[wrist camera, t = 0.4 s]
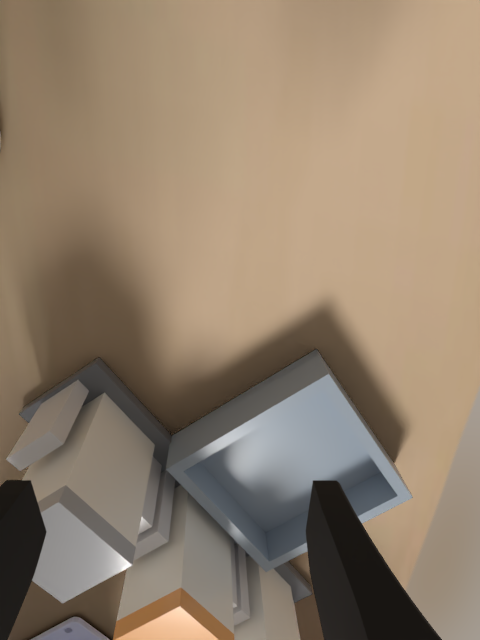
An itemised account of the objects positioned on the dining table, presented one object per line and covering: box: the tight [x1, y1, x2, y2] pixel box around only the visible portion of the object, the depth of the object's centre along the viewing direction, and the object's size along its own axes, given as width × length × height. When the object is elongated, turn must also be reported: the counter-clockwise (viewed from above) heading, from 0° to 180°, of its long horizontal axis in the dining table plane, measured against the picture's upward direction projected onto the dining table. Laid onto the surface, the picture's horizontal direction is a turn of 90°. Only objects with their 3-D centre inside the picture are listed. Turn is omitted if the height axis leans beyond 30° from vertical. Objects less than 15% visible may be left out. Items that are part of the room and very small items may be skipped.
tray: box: [166, 349, 413, 572], centre depth 23 cm, size 9×9×2 cm
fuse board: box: [6, 357, 312, 640], centre depth 24 cm, size 5×21×5 cm, turn 34°
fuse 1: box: [22, 392, 155, 603], centre depth 19 cm, size 4×4×7 cm
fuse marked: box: [113, 485, 234, 640], centre depth 22 cm, size 4×4×7 cm
